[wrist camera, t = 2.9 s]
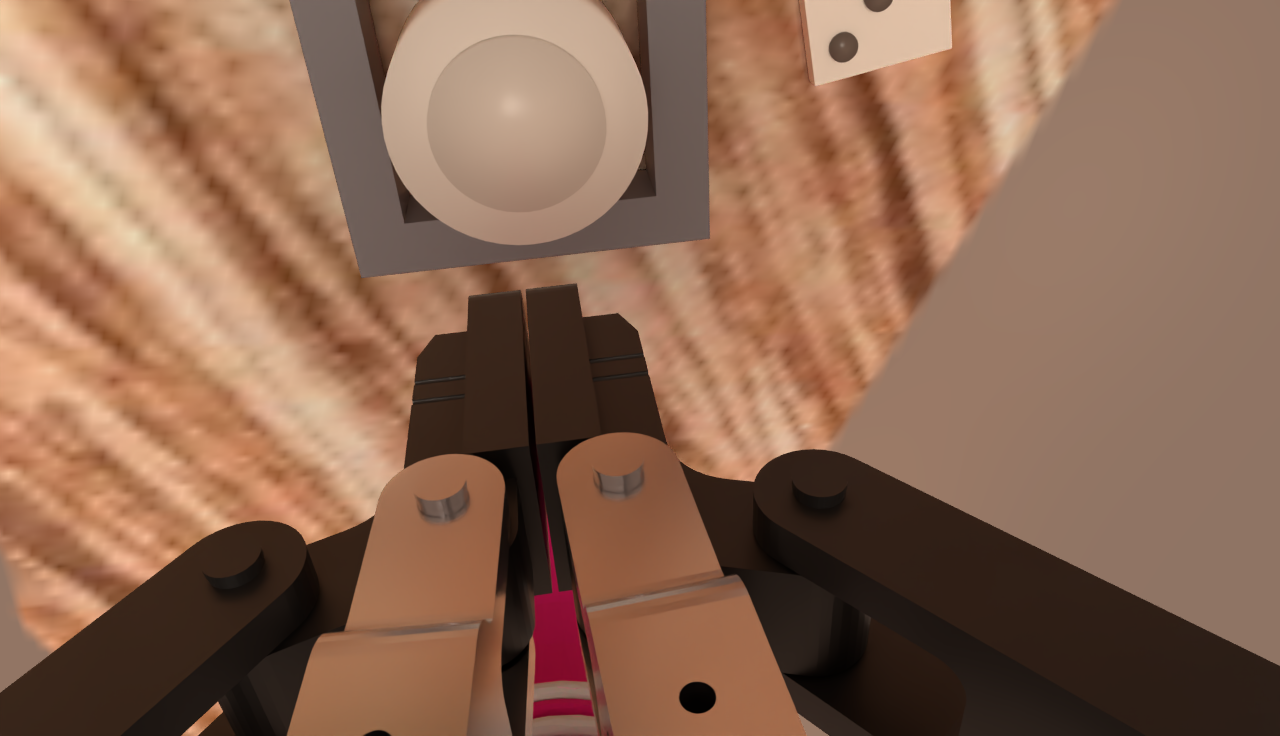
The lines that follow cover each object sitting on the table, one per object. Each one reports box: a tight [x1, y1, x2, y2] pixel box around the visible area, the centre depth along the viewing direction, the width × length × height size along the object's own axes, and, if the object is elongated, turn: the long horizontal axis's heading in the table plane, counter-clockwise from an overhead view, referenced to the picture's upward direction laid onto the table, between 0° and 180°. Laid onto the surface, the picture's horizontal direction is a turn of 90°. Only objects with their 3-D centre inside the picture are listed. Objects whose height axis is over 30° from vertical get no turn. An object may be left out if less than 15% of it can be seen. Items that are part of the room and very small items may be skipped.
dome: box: [381, 0, 648, 245], centre depth 22 cm, size 6×6×3 cm
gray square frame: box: [290, 0, 710, 278], centre depth 24 cm, size 10×10×2 cm
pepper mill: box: [532, 518, 598, 736], centre depth 24 cm, size 7×7×20 cm
